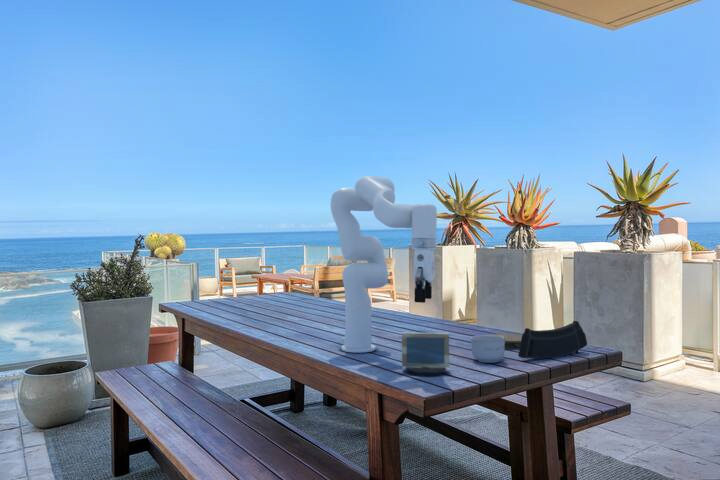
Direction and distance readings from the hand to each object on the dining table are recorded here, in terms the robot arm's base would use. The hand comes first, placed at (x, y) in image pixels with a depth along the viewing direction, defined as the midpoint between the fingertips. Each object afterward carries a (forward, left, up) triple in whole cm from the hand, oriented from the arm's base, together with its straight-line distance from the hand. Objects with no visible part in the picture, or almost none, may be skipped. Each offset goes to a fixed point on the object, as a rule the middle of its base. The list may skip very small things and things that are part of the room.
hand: (423, 300), depth 153 cm
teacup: (+5, +26, -21) cm, 34 cm away
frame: (+1, 0, -20) cm, 20 cm away
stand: (+2, -1, -21) cm, 21 cm away
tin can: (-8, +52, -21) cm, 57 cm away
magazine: (+14, +48, -21) cm, 54 cm away
